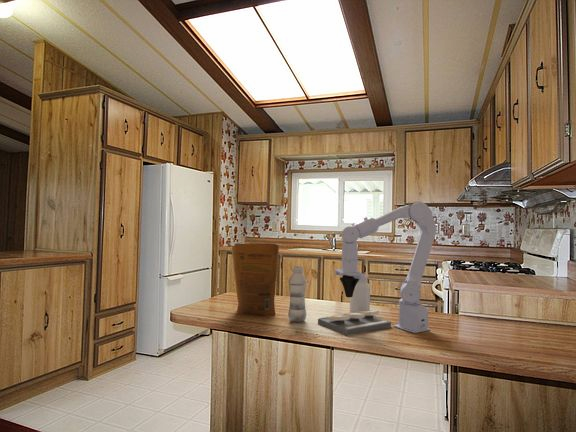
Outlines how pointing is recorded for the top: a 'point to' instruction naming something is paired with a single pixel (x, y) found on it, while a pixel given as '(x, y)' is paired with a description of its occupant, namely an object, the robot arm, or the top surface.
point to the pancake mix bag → (255, 277)
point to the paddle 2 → (369, 313)
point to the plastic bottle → (297, 295)
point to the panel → (355, 324)
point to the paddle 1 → (339, 317)
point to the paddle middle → (355, 315)
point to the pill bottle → (360, 297)
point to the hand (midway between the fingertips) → (349, 296)
